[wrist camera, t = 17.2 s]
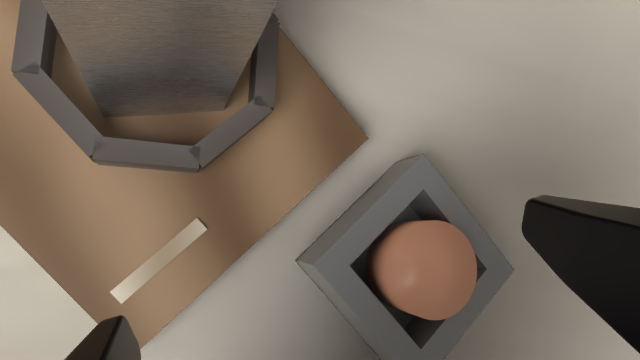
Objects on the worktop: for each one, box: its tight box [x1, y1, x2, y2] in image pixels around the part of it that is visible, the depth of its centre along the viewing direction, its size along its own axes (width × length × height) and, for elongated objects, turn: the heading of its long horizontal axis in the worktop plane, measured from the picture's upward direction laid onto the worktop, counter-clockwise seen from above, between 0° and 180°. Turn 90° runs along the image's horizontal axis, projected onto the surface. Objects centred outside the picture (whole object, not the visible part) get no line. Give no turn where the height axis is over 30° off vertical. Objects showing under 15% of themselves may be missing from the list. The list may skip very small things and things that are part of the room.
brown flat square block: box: [0, 0, 368, 349], centre depth 17 cm, size 13×13×3 cm
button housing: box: [295, 154, 514, 360], centre depth 20 cm, size 7×7×2 cm
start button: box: [366, 220, 477, 320], centre depth 19 cm, size 4×4×2 cm
